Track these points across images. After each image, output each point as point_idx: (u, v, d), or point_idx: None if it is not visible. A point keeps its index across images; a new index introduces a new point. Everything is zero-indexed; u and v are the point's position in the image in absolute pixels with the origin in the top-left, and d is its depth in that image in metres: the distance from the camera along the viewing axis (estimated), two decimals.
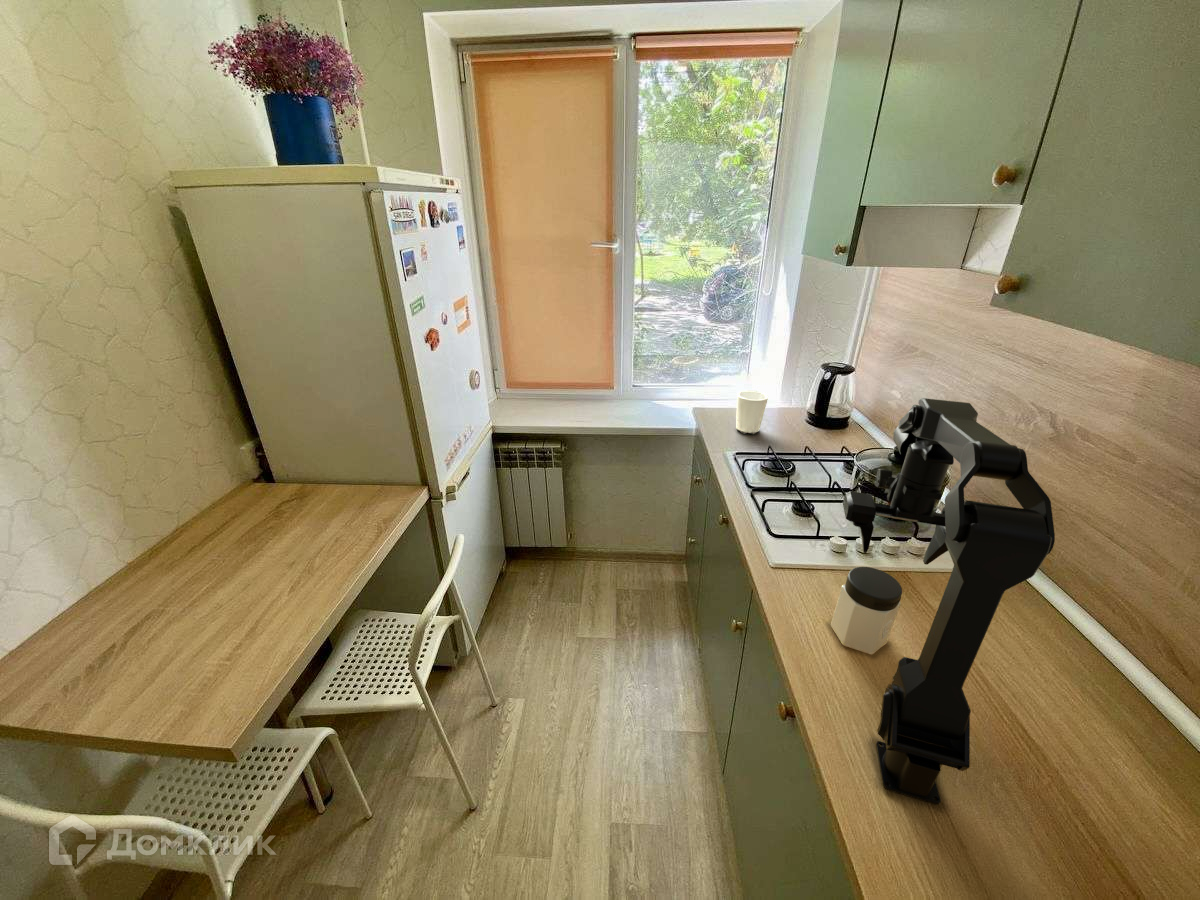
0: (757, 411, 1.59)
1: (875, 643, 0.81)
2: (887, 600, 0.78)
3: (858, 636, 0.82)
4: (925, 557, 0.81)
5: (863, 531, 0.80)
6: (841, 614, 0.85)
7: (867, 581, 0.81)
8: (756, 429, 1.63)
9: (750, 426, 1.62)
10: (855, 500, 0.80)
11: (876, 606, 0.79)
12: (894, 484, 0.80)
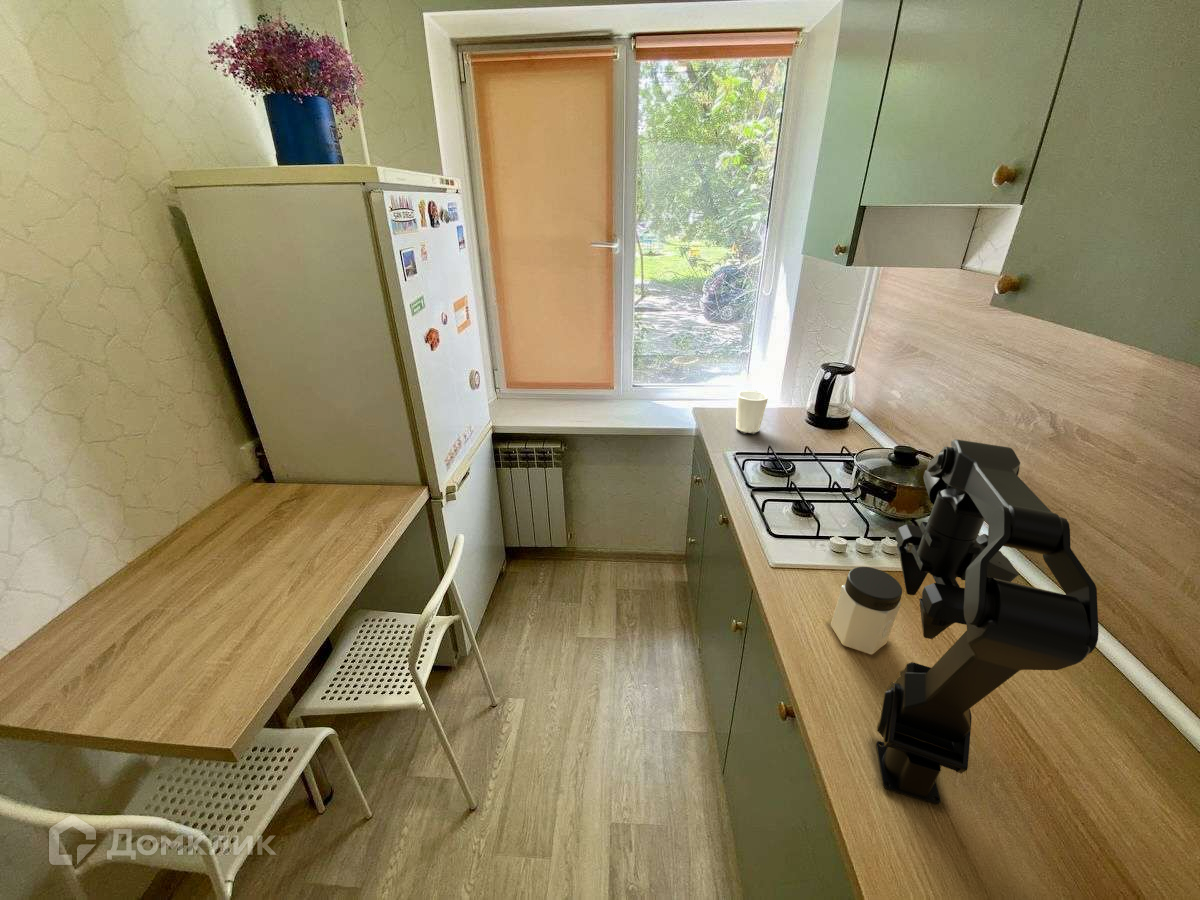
0: (757, 411, 1.59)
1: (875, 643, 0.81)
2: (887, 600, 0.78)
3: (858, 636, 0.82)
4: None
5: (899, 556, 0.77)
6: (841, 614, 0.85)
7: (867, 581, 0.81)
8: (756, 429, 1.63)
9: (750, 426, 1.62)
10: (916, 527, 0.76)
11: (876, 606, 0.79)
12: None
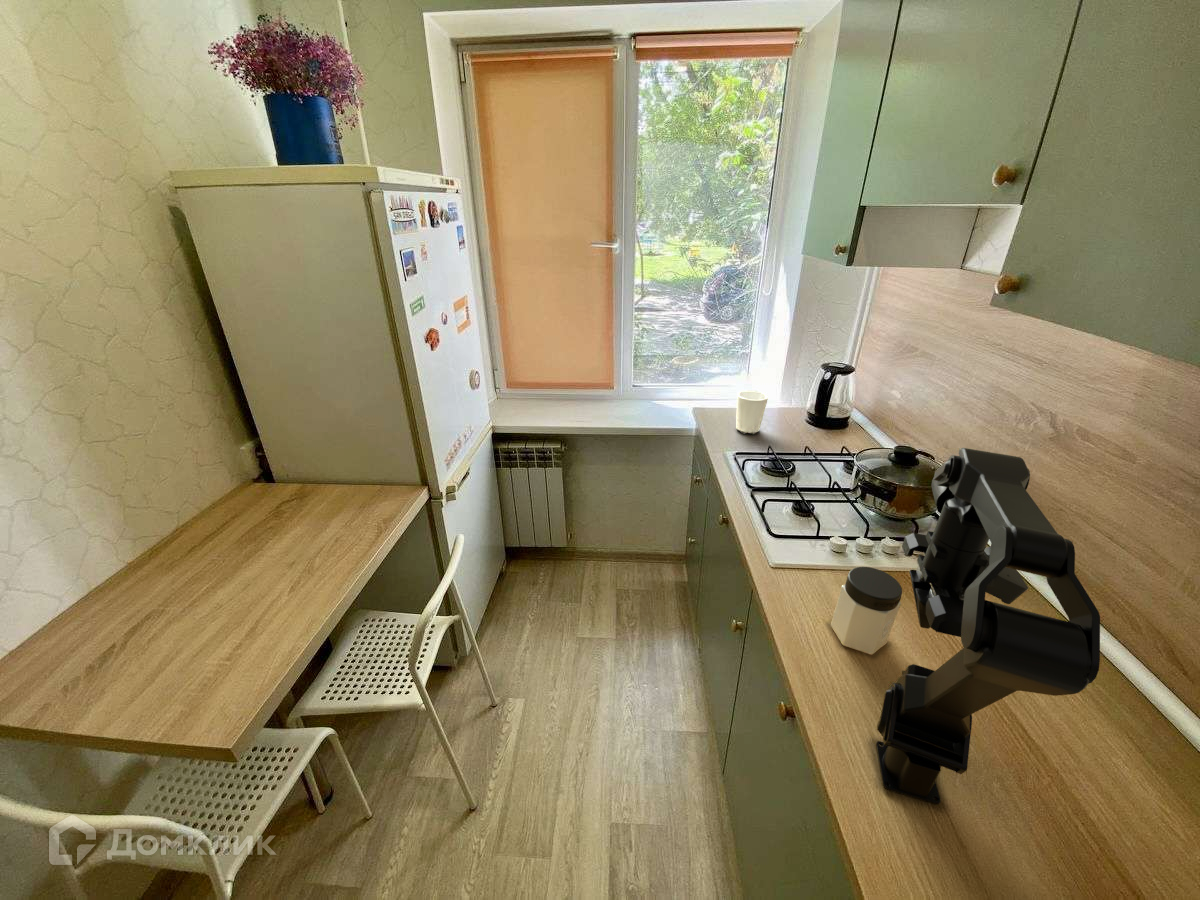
0: (757, 411, 1.59)
1: (875, 643, 0.81)
2: (887, 600, 0.78)
3: (858, 636, 0.82)
4: None
5: (912, 584, 0.71)
6: (841, 614, 0.85)
7: (867, 581, 0.81)
8: (756, 429, 1.63)
9: (750, 426, 1.62)
10: (924, 536, 0.74)
11: (876, 606, 0.79)
12: None
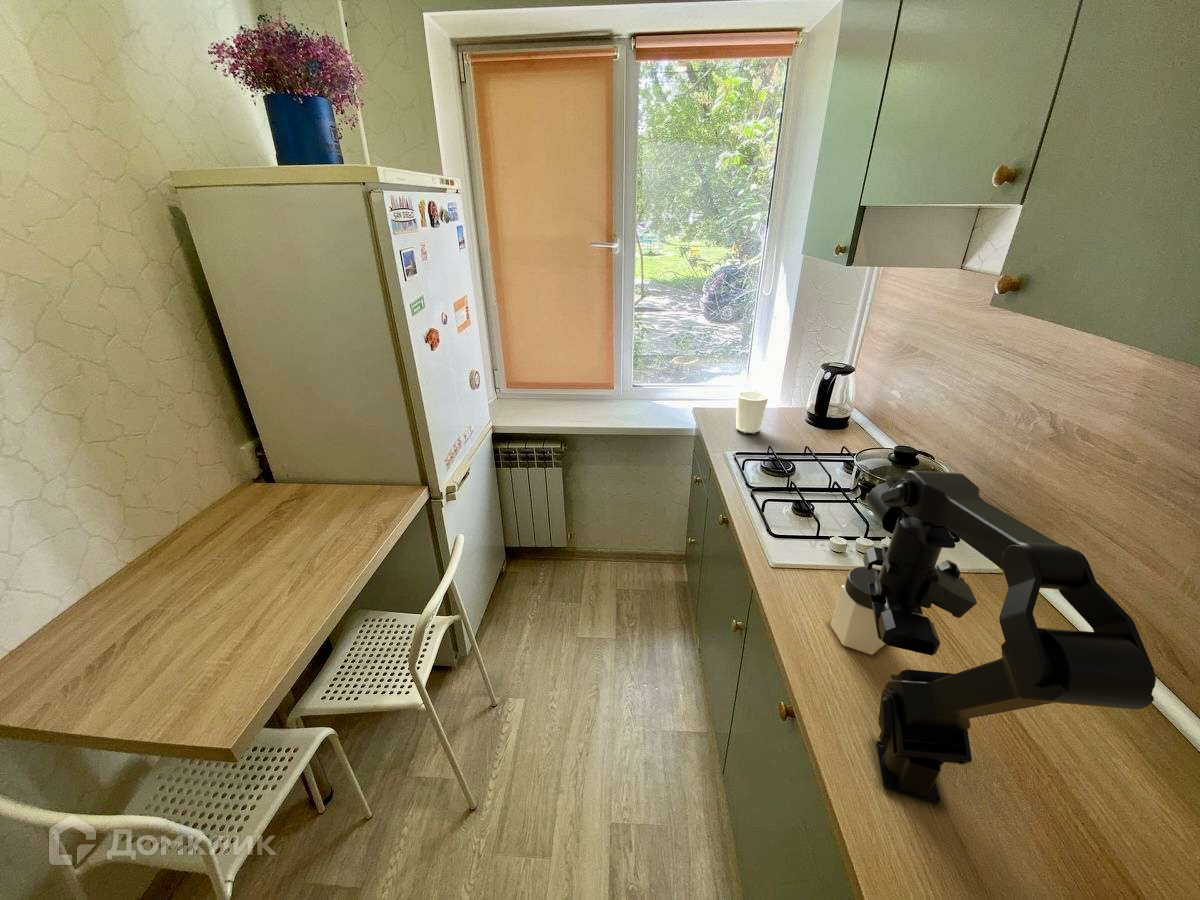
0: (757, 411, 1.59)
1: (875, 643, 0.81)
2: None
3: (858, 636, 0.82)
4: None
5: (870, 597, 0.73)
6: (841, 614, 0.85)
7: (867, 581, 0.81)
8: (756, 429, 1.63)
9: (750, 426, 1.62)
10: None
11: None
12: None
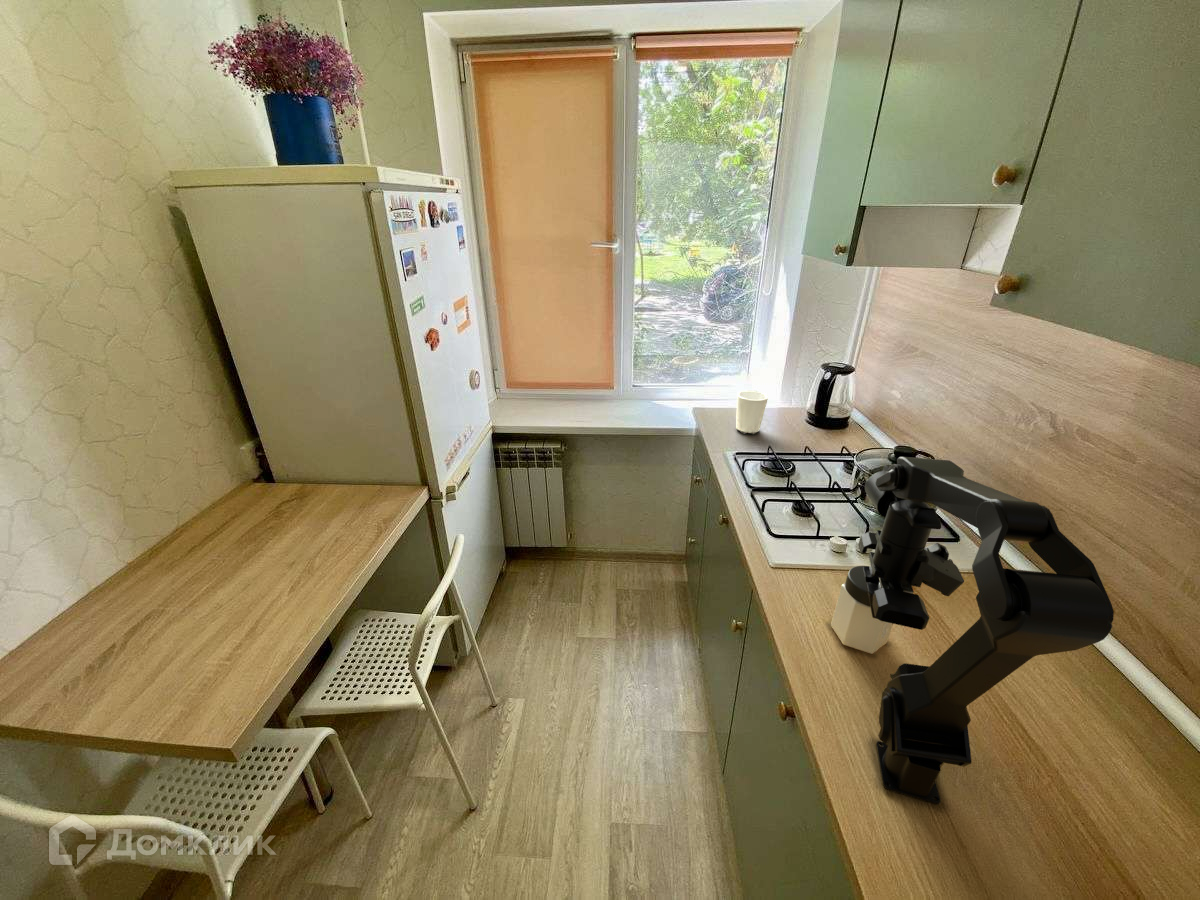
0: (757, 411, 1.59)
1: (875, 642, 0.81)
2: None
3: (858, 635, 0.82)
4: None
5: (865, 579, 0.78)
6: (841, 613, 0.85)
7: None
8: (756, 429, 1.63)
9: (750, 426, 1.62)
10: None
11: None
12: None
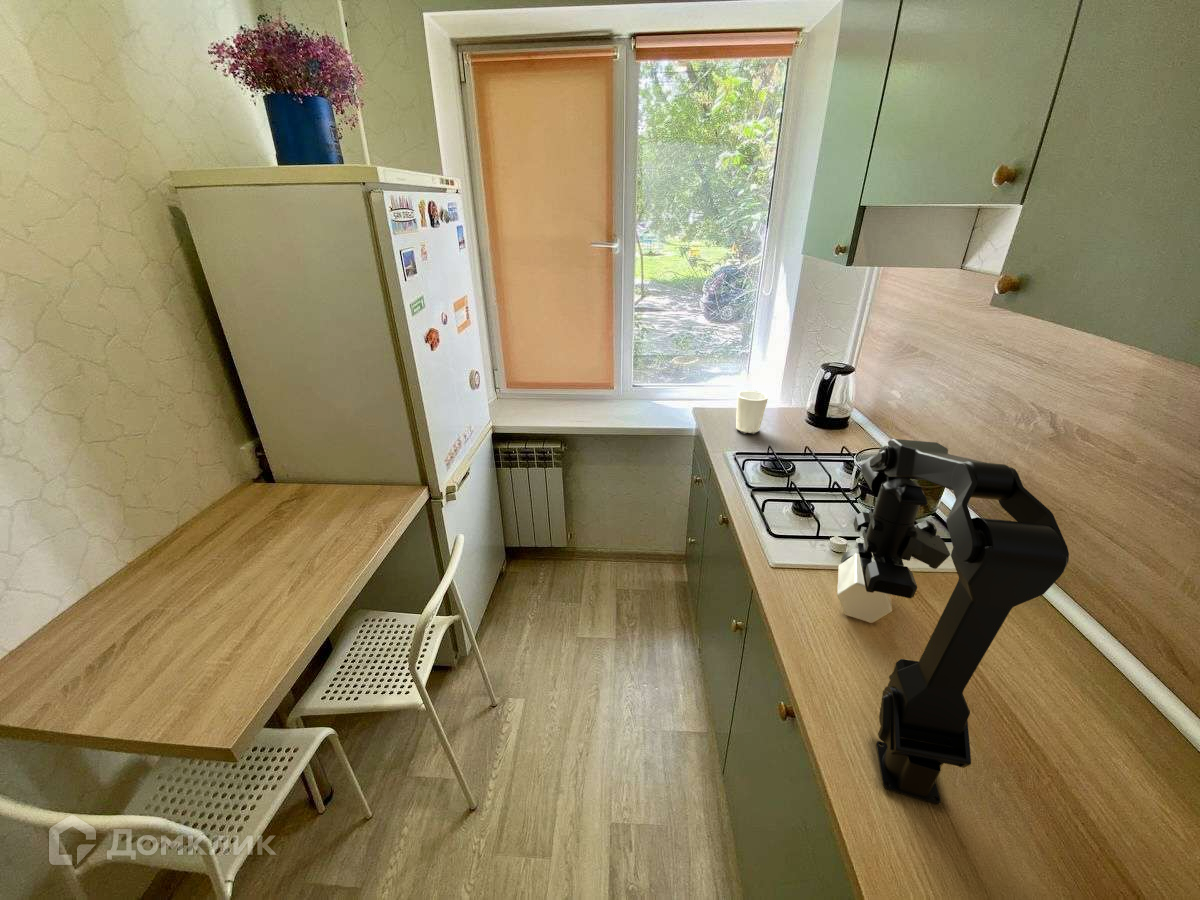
0: (757, 411, 1.59)
1: None
2: None
3: None
4: None
5: None
6: (845, 574, 0.92)
7: None
8: (756, 429, 1.63)
9: (750, 426, 1.62)
10: None
11: None
12: None
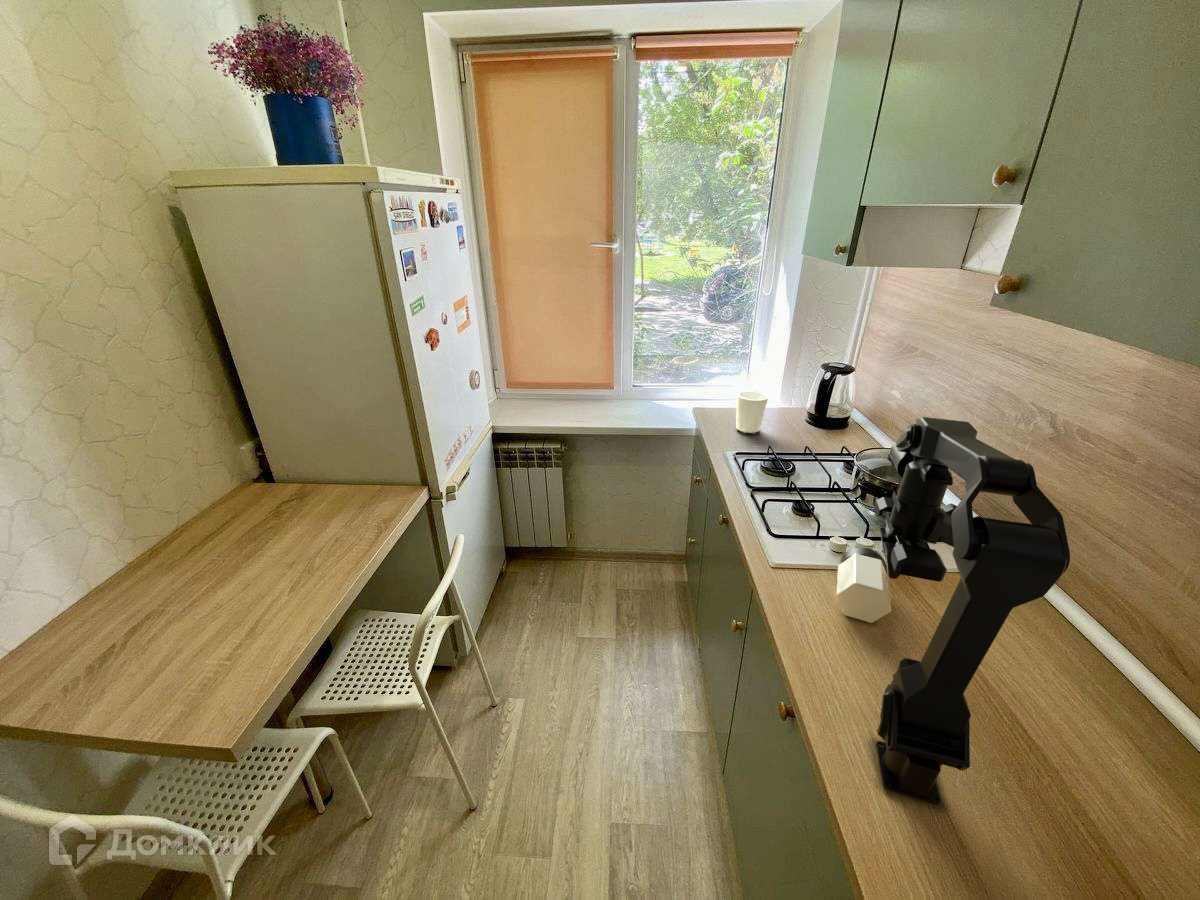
0: (757, 411, 1.59)
1: (882, 581, 0.88)
2: (877, 553, 0.95)
3: (865, 575, 0.89)
4: None
5: None
6: (844, 574, 0.92)
7: None
8: (756, 429, 1.63)
9: (750, 426, 1.62)
10: (892, 499, 0.84)
11: (871, 553, 0.94)
12: None
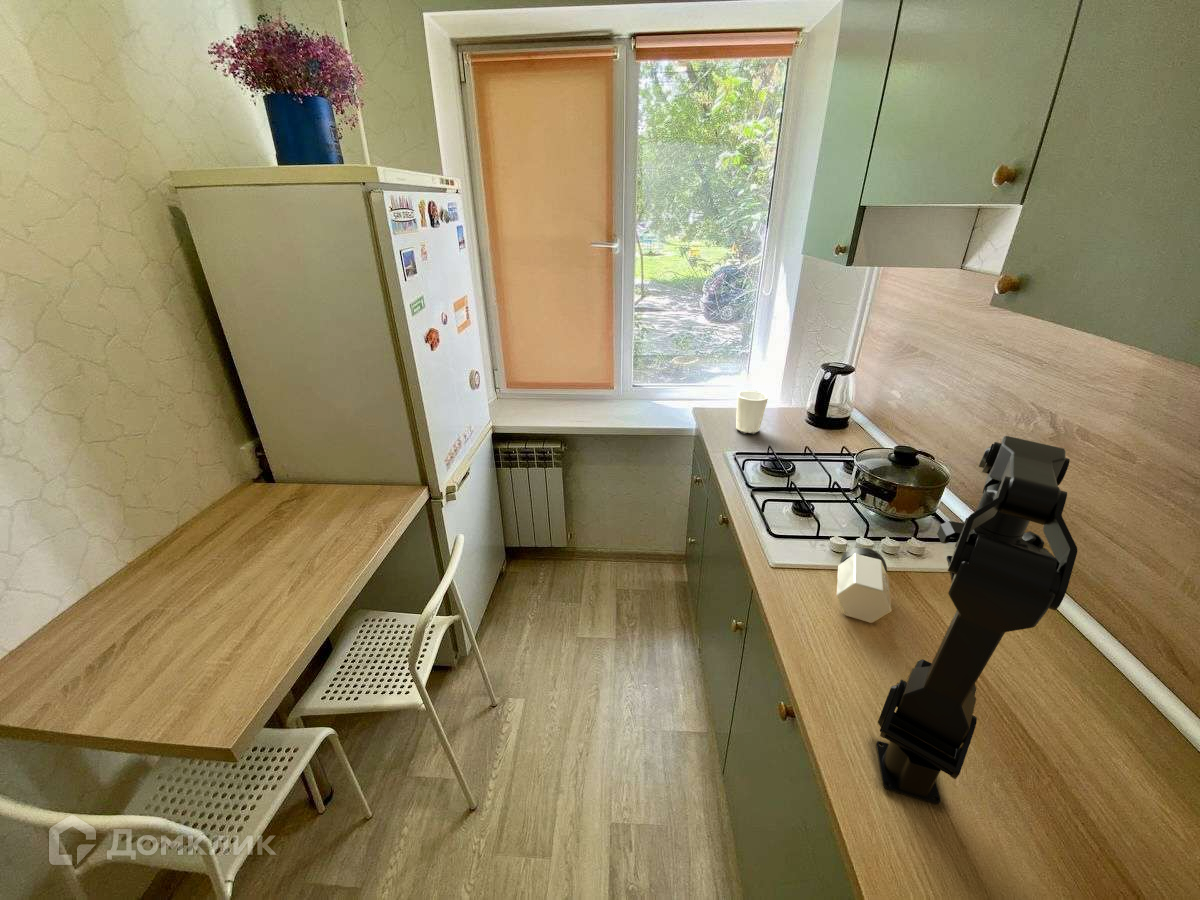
0: (757, 411, 1.59)
1: (882, 581, 0.88)
2: (877, 553, 0.95)
3: (865, 575, 0.89)
4: None
5: None
6: (844, 574, 0.92)
7: None
8: (756, 429, 1.63)
9: (750, 426, 1.62)
10: (959, 524, 0.77)
11: (871, 553, 0.94)
12: None
